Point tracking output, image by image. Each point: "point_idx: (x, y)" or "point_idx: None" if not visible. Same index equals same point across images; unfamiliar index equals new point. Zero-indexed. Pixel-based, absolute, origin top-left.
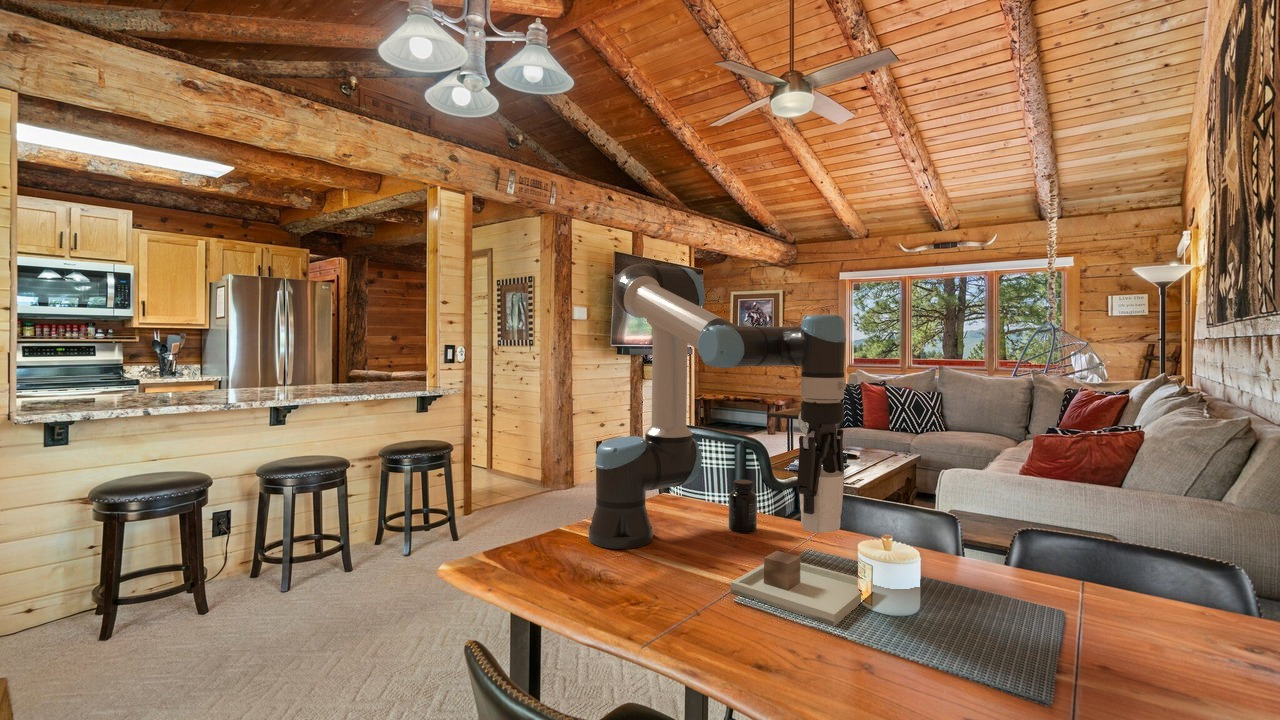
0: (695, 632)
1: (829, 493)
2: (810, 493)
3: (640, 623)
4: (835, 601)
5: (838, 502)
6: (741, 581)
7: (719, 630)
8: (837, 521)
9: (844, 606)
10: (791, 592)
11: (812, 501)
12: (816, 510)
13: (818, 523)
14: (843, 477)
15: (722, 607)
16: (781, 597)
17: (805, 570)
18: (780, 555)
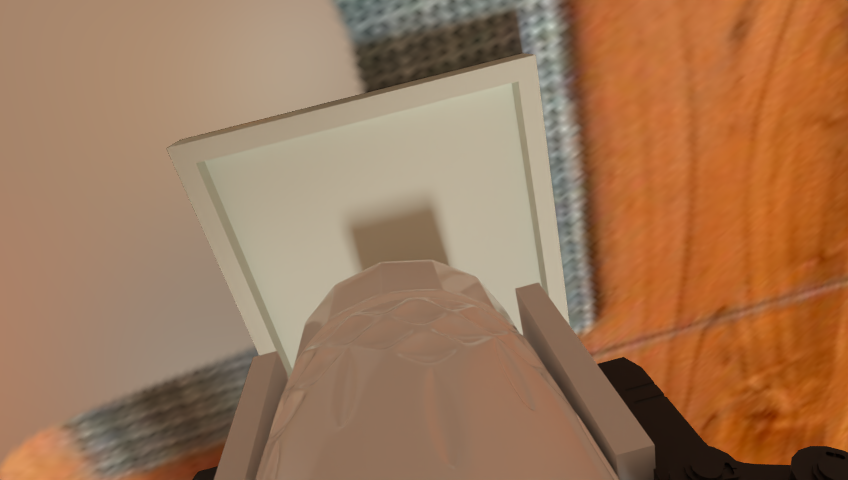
0: (803, 246)
1: (558, 431)
2: (836, 451)
3: (838, 339)
4: (395, 149)
5: (417, 358)
6: None
7: (760, 223)
8: (398, 285)
9: (450, 76)
10: (455, 268)
11: (664, 424)
12: (595, 367)
13: (541, 312)
14: None
15: (649, 309)
16: (554, 236)
17: (284, 354)
18: None
